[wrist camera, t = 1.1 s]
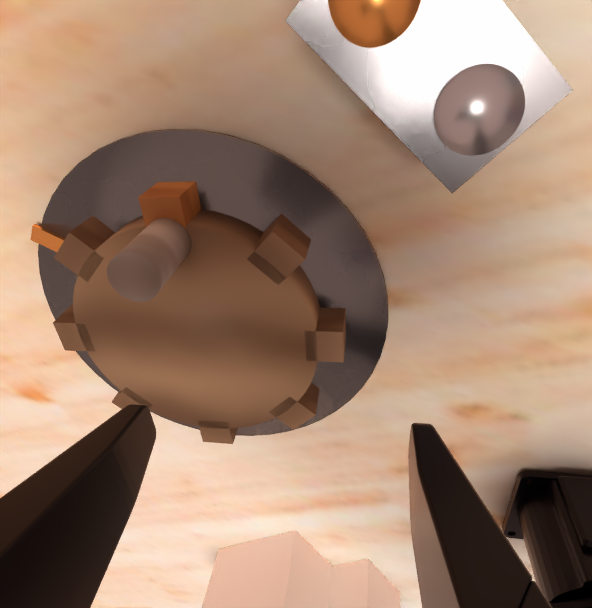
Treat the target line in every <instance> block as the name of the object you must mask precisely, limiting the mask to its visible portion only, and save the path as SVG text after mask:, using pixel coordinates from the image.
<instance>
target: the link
mask: <svg viewBox="0 0 592 608" xmlns="http://www.w3.org/2000/svg"><path fill="white" fill-rule="evenodd" d="M286 22H287V23H288V24H289V25H290V26H291V27H292V28H293V29H294V31H295V32H296V33H297V34H298V35H299V36H300V37H301V38H302V39H303V40H304V41H305V42H306V43H307V44H308V45H309V46H310V47H311V48H312V49H313V50H314V51H315V52H316V53H317V54H318V55H319V56H320V57H321V58H322V59H323V60H324V62H325V63H326V64H327V65H328V66H329V67H330V68H331V69H332V70H333V71H334V72H335V73H336V74H337V75H338V76H339V77H340V78H341V79H342V80H343V81H344V82H345V83H346V84H347V85H348V86H349V87H350V88H351V89H352V90H353V91H354V93H355V94H356V95H357V96H358V97H359V98H360V99H361V100H362V101H363V102H364V103H365V104H366V105H367V106H368V107H369V108H370V109H371V110H372V111H373V112H374V113H375V114H376V115H377V116H378V117H379V118H380V119H381V120H382V121H383V123H384V124H385V125H386V126H387V127H388V128H389V129H390V130H391V131H392V132H393V133H394V134H395V135H396V136H397V137H398V138H399V139H400V140H401V141H402V142H403V143H404V144H405V145H406V146H407V147H408V148H409V149H410V150H411V151H412V152H413V154H414V155H415V156H416V157H417V158H418V159H419V160H420V161H421V162H422V163H423V164H424V165H425V166H426V167H427V168H428V169H429V170H430V171H431V172H432V173H433V174H434V175H435V176H436V177H437V178H438V179H439V180H440V181H441V182H442V184H443V185H444V186H445V187H446V188H447V189H448V190H449V191H450V192H451V193H453V192H454V191H456V190H457V189H458V188H459V187H460V186H461V185H463V184H464V183H465V182H466V181H467V180H468V179H470V178H471V177H472V176H473V175H474V174H475V173H477V172H478V171H479V170H480V169H481V168H482V167H484V166H485V165H486V164H487V163H488V162H489V161H491V160H492V159H493V158H494V157H495V156H497V155H498V154H499V153H500V152H501V151H502V150H504V149H505V148H506V147H507V146H508V145H509V144H511V143H512V142H513V141H514V140H515V139H516V138H518V137H519V136H520V135H521V134H522V133H523V132H525V131H526V130H527V129H528V128H529V127H530V126H532V125H533V124H534V123H535V122H536V121H537V120H539V119H540V118H541V117H542V116H543V115H544V114H546V113H547V112H548V111H549V110H550V109H551V108H553V107H554V106H555V105H556V104H557V103H558V102H560V101H561V100H562V99H563V98H564V97H565V96H567V95H568V94H569V93H570V92H571V91H573V89H572V88H571V87H570V86H569V84H568V83H567V82H566V80H565V79H564V78H563V77H562V75H561V74H560V73H559V72H558V70H557V69H556V68H555V67H554V65H553V64H552V63H551V62H550V60H549V59H548V58H547V56H546V55H545V54H544V53H543V51H542V50H541V49H540V48H539V46H538V45H537V44H536V43H535V41H534V40H533V39H532V38H531V36H530V35H529V34H528V32H527V31H526V30H525V29H524V27H523V26H522V25H521V24H520V22H519V21H518V20H517V19H516V17H515V16H514V15H513V14H512V12H511V11H510V10H509V8H508V7H507V6H506V5H505V3H504V2H503V1H502V0H300V1H299V2H298V4H297V5H296V7H295V8H294V9H293V11H292V12H291V14H290V15H289V16H288V18H287V19H286Z"/></svg>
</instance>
